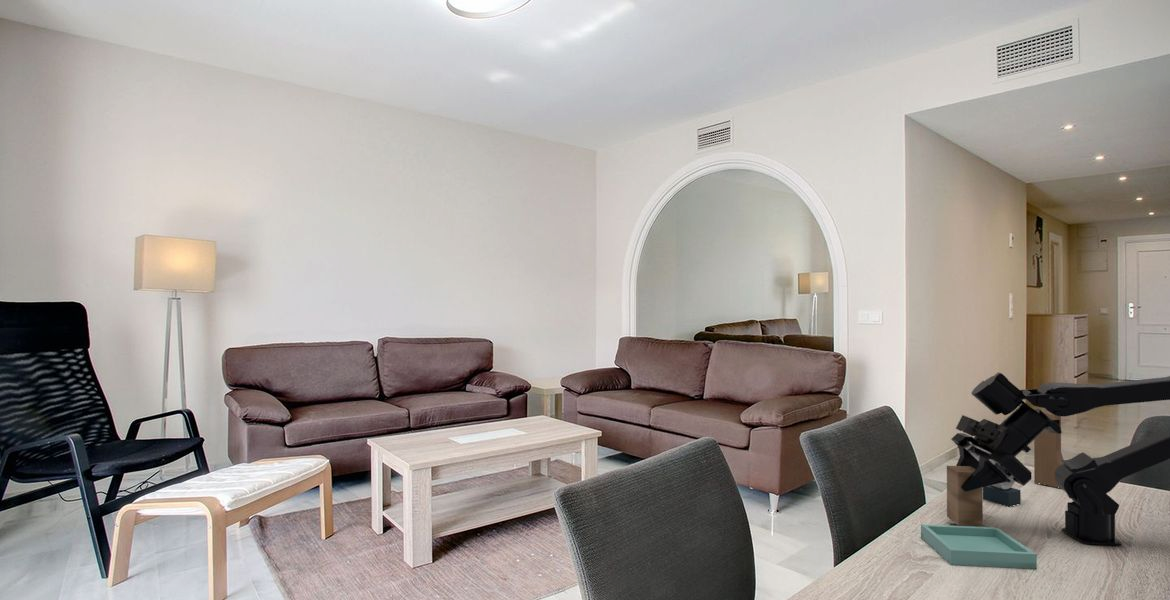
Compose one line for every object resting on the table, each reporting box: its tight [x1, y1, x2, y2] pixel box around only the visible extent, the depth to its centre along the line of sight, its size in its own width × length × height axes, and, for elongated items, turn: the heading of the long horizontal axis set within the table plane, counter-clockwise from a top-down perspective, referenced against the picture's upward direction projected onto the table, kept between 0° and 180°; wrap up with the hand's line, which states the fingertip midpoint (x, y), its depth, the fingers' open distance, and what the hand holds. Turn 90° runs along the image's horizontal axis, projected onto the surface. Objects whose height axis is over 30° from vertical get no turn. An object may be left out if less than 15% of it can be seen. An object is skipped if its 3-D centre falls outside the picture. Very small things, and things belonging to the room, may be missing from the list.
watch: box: [983, 475, 1022, 508], centre depth 131 cm, size 6×8×11 cm
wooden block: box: [1033, 408, 1065, 489], centre depth 142 cm, size 9×4×18 cm, turn 39°
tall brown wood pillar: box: [946, 465, 984, 527], centre depth 117 cm, size 4×4×10 cm
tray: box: [920, 523, 1038, 570], centre depth 105 cm, size 14×12×2 cm
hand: (956, 485), depth 117 cm, fingers closed on tall brown wood pillar, 4 cm apart
